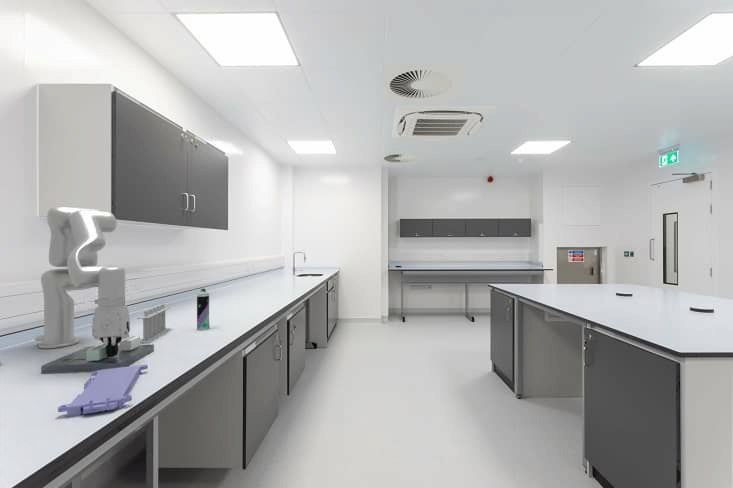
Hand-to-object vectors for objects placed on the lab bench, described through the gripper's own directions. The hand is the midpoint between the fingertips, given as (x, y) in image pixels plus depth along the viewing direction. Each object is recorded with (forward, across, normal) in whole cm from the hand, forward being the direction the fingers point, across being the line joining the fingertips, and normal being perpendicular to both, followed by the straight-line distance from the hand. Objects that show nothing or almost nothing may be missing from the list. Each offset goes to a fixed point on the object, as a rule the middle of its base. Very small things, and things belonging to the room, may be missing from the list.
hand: (112, 356), depth 121 cm
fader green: (0, -4, 0) cm, 4 cm away
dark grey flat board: (+3, -6, +6) cm, 9 cm away
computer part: (+4, +13, -23) cm, 27 cm away
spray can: (+4, +12, +52) cm, 53 cm away
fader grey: (0, 0, +11) cm, 11 cm away
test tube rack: (+4, -5, +40) cm, 41 cm away
